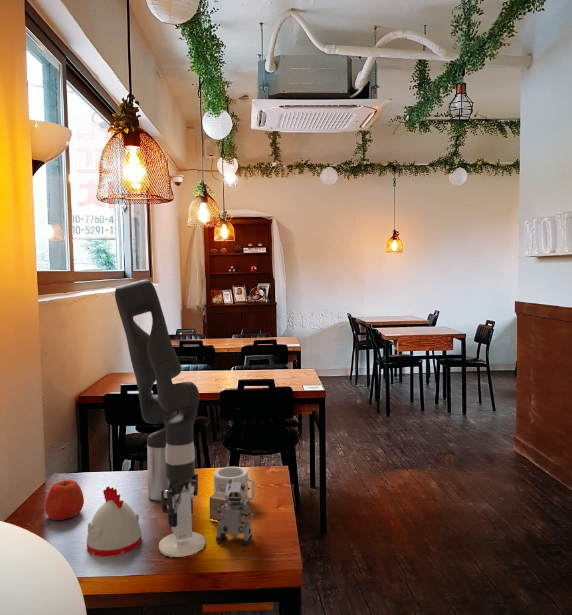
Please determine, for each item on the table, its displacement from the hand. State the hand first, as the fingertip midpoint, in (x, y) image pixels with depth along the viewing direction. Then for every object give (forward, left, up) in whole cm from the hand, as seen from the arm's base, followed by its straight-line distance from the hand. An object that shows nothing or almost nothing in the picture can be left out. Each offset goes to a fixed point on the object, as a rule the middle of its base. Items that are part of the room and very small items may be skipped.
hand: (181, 520), depth 140 cm
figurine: (-10, +12, -7) cm, 17 cm away
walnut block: (-18, +2, -7) cm, 20 cm away
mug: (-29, +1, -7) cm, 30 cm away
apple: (-3, -43, -7) cm, 44 cm away
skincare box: (0, 0, -4) cm, 4 cm away
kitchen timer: (+5, -18, -7) cm, 20 cm away
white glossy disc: (0, 0, -7) cm, 7 cm away
